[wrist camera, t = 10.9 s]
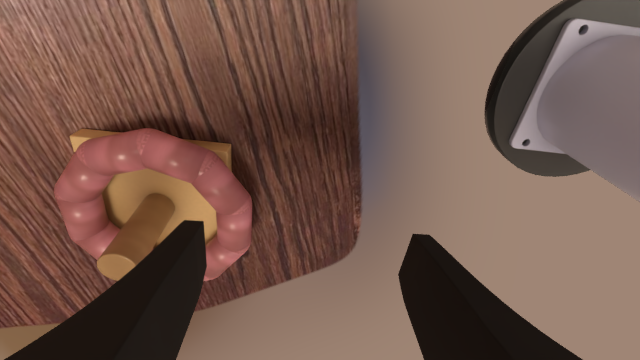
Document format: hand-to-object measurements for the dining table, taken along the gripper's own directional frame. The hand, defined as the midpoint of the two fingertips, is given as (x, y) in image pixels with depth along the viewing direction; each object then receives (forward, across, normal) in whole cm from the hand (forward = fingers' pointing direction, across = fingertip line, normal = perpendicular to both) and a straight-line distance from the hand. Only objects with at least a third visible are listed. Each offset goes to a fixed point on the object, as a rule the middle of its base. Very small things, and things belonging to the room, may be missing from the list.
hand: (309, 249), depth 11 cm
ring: (+8, +9, +6) cm, 13 cm away
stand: (+11, +9, +6) cm, 15 cm away
